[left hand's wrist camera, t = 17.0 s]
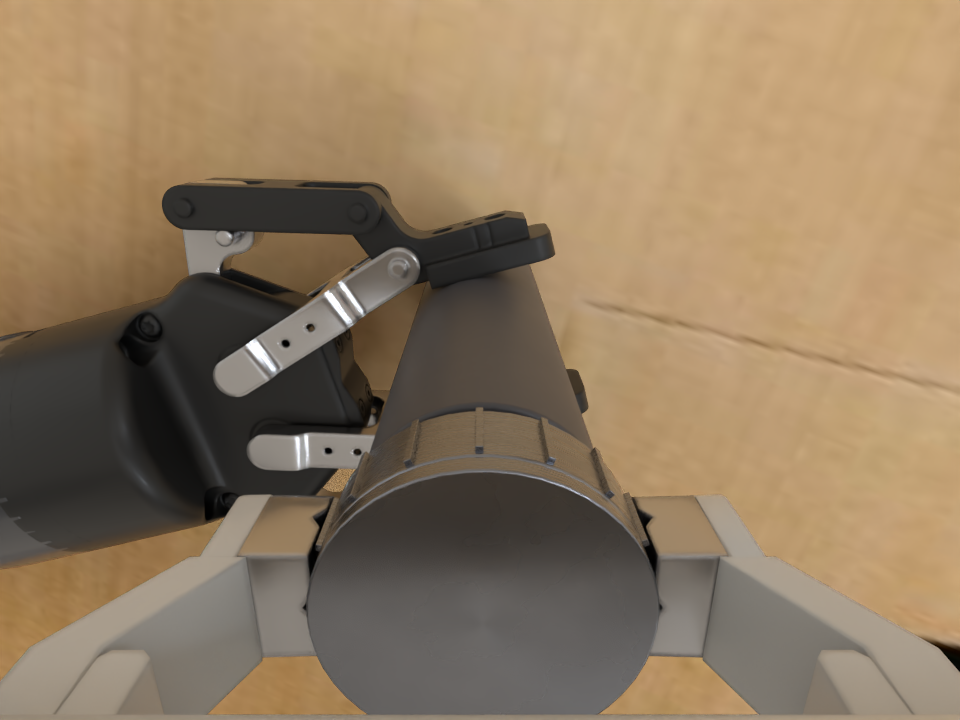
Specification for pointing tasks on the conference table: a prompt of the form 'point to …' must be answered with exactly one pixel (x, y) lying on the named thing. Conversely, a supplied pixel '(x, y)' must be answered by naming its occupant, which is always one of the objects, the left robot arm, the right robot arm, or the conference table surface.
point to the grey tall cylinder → (482, 357)
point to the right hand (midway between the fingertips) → (564, 316)
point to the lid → (482, 574)
